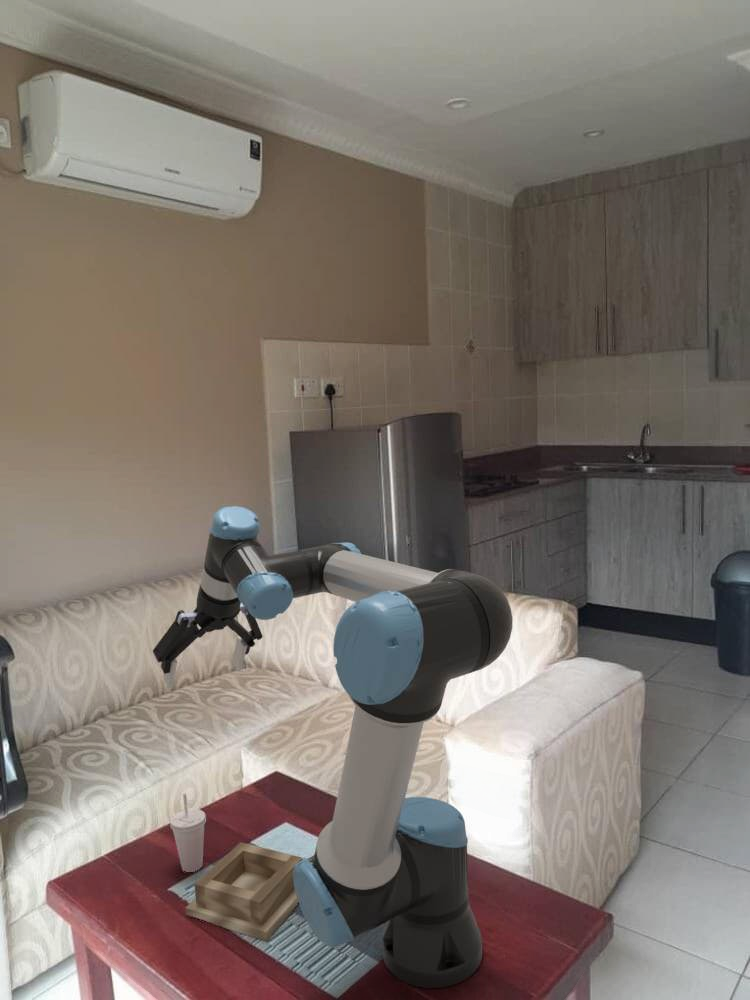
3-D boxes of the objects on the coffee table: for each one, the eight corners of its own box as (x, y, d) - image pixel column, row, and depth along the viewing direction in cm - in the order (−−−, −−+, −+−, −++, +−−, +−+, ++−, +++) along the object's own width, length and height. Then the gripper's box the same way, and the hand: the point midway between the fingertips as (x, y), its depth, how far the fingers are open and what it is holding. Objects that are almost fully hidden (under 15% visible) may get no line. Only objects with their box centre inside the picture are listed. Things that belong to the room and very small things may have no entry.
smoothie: (200, 852, 148) (194, 783, 146) (216, 867, 143) (210, 795, 141) (168, 866, 144) (161, 795, 142) (183, 882, 139) (176, 808, 137)
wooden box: (314, 885, 136) (312, 856, 135) (266, 940, 123) (264, 908, 122) (239, 865, 143) (236, 837, 142) (186, 916, 130) (183, 885, 129)
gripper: (276, 563, 143) (254, 646, 154) (143, 585, 129) (129, 674, 140) (295, 589, 139) (271, 673, 149) (158, 615, 124) (143, 705, 135)
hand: (202, 674), depth 145 cm, fingers open, 13 cm apart
